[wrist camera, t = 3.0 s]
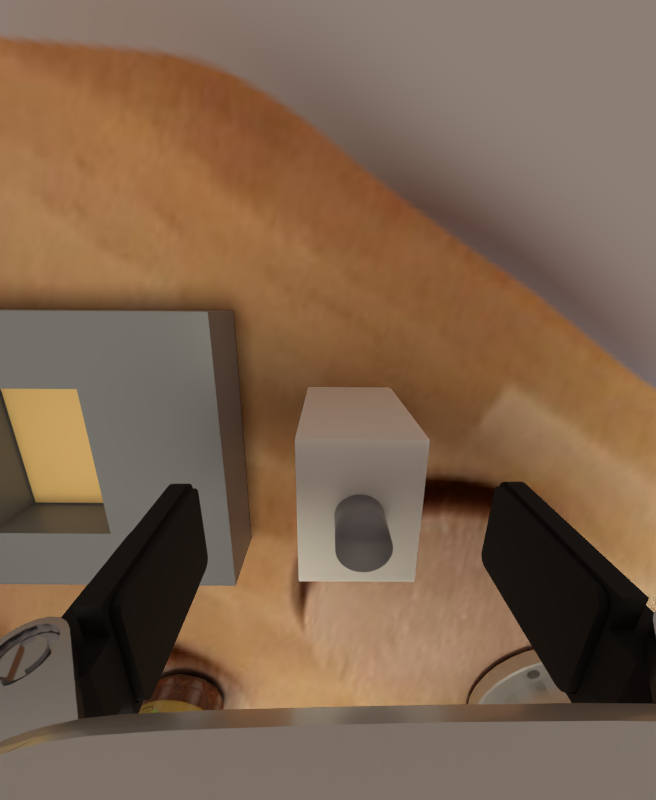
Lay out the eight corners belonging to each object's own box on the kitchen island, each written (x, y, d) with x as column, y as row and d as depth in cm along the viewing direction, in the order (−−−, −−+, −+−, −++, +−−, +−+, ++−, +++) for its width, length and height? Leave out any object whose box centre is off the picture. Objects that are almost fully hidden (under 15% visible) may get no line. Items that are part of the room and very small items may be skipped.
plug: (390, 387, 17) (447, 463, 9) (384, 483, 19) (426, 622, 11) (308, 386, 17) (288, 462, 9) (309, 483, 19) (294, 621, 11)
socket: (233, 310, 16) (200, 312, 12) (251, 538, 20) (231, 599, 16) (-121, 308, 16) (-278, 309, 12) (-31, 536, 20) (-124, 596, 16)
